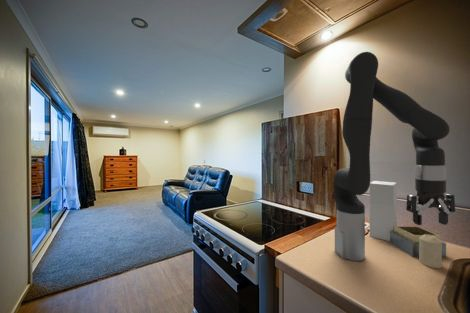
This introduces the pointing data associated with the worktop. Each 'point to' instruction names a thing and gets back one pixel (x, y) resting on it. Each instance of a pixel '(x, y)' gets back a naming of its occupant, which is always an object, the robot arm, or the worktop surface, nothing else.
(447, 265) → the worktop surface
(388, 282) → the worktop surface
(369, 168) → the robot arm
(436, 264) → the candle
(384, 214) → the tall white carton
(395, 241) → the grey open box
